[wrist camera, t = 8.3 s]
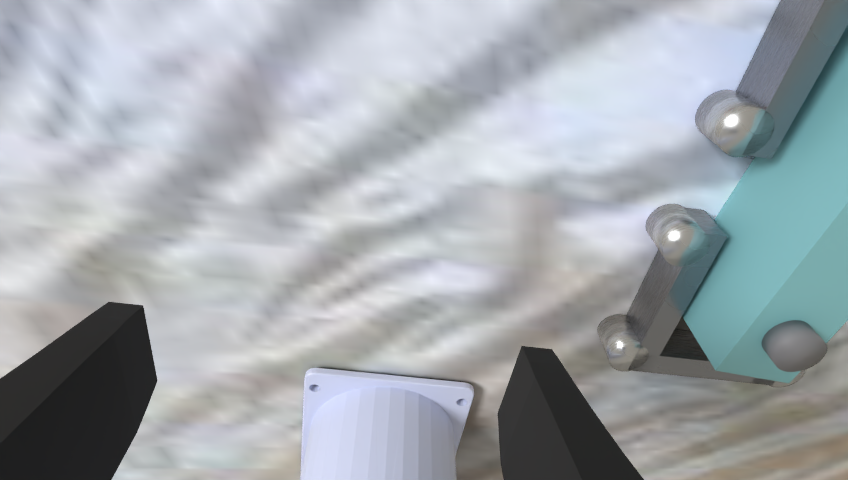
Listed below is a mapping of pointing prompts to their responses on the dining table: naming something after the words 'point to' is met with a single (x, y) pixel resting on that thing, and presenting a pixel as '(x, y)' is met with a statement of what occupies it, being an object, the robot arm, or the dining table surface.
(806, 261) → the teal studded beam
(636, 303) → the chain end
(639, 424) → the dining table surface
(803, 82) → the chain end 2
